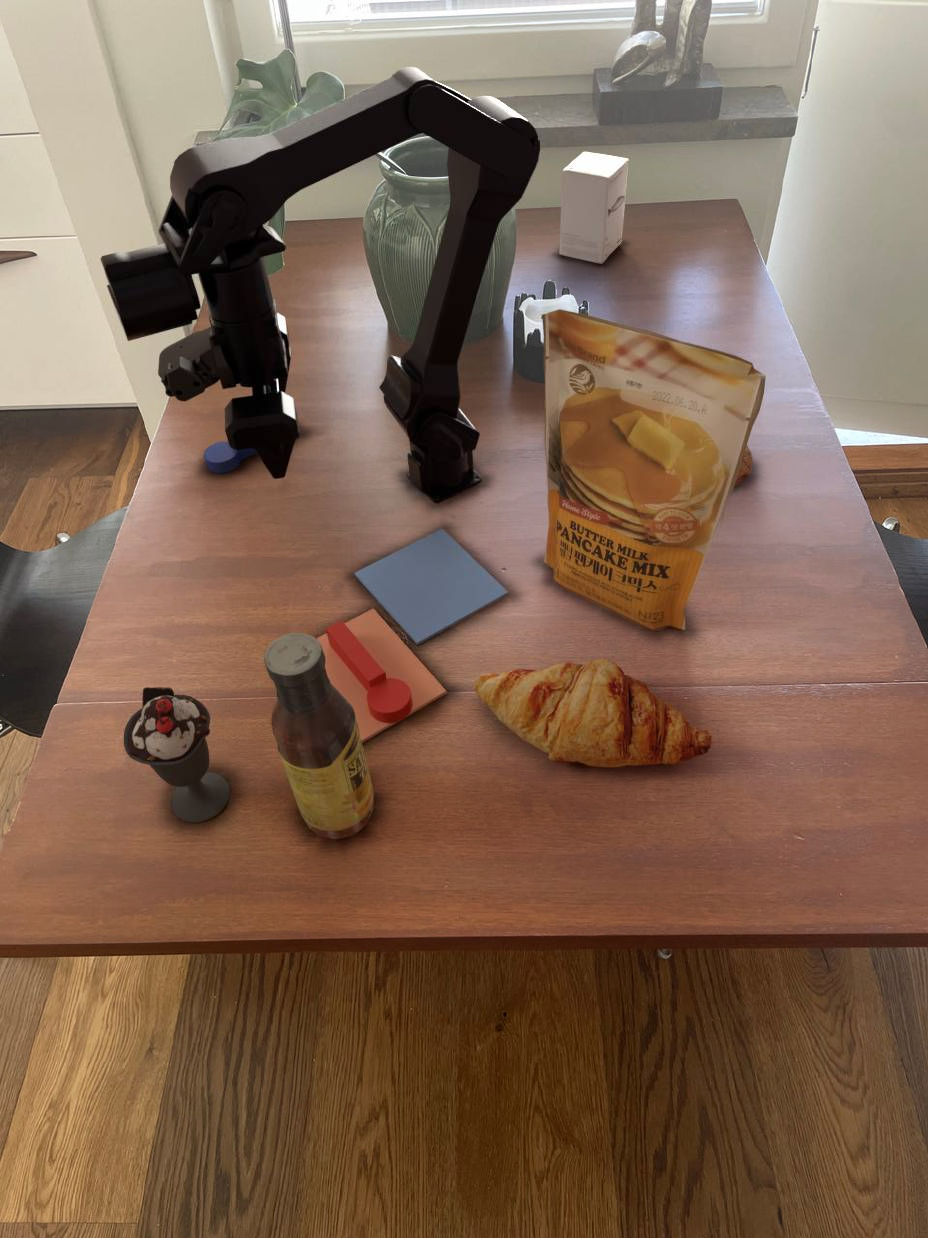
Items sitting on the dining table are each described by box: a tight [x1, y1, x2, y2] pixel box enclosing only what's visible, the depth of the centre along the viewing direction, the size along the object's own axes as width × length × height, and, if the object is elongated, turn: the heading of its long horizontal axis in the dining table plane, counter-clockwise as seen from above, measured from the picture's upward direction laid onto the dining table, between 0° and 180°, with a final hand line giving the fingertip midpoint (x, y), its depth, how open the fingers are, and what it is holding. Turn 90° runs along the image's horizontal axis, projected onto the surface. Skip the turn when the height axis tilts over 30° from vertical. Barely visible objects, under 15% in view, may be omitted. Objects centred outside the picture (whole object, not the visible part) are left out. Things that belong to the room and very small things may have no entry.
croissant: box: [474, 657, 713, 768], centre depth 79 cm, size 21×10×8 cm, turn 70°
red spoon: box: [325, 620, 413, 724], centre depth 85 cm, size 12×4×2 cm, turn 35°
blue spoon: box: [203, 431, 301, 474], centre depth 110 cm, size 12×4×2 cm, turn 125°
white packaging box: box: [558, 151, 629, 265], centre depth 135 cm, size 7×7×13 cm
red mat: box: [316, 608, 447, 744], centre depth 87 cm, size 10×13×1 cm
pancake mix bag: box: [540, 308, 766, 633], centre depth 82 cm, size 7×19×28 cm, turn 52°
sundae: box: [123, 686, 231, 824], centre depth 73 cm, size 7×7×15 cm
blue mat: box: [354, 528, 510, 646], centre depth 94 cm, size 11×12×1 cm
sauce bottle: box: [263, 632, 375, 840], centre depth 70 cm, size 7×6×20 cm
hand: (277, 448), depth 93 cm, fingers open, 9 cm apart
